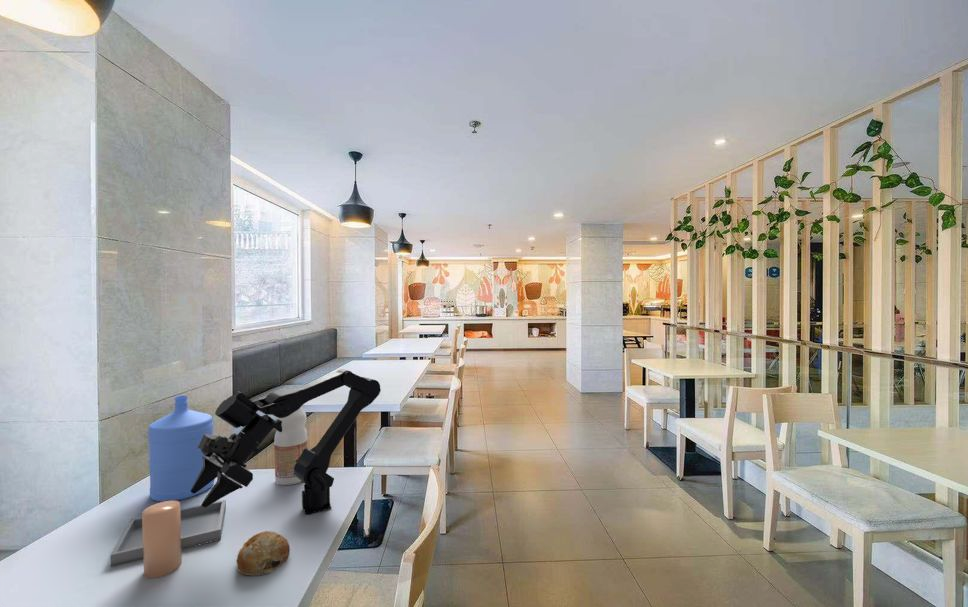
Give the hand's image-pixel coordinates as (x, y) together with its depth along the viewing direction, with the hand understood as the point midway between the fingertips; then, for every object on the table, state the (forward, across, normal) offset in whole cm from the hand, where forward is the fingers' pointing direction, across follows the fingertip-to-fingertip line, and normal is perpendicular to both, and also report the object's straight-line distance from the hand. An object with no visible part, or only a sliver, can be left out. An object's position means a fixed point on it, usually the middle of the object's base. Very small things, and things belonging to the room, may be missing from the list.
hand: (197, 499), depth 93 cm
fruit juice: (-12, -22, +30) cm, 39 cm away
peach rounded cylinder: (+13, 0, +4) cm, 14 cm away
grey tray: (+10, -13, +8) cm, 18 cm away
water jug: (+5, -39, +12) cm, 42 cm away
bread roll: (+3, +14, +15) cm, 21 cm away
